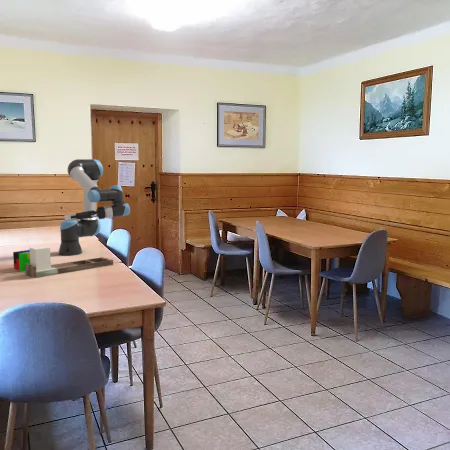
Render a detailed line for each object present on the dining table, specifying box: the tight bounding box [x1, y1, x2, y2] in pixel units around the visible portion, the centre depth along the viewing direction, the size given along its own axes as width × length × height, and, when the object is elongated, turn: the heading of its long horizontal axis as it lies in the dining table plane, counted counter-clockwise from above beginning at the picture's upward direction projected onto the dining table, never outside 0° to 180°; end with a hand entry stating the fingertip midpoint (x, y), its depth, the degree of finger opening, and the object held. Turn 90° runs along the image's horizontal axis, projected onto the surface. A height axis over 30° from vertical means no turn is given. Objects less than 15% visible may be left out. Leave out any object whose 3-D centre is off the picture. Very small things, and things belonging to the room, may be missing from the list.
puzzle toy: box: [12, 249, 30, 272], centre depth 267 cm, size 10×10×10 cm
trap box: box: [25, 256, 114, 279], centre depth 266 cm, size 12×48×6 cm, turn 135°
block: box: [29, 245, 52, 271], centre depth 253 cm, size 8×8×12 cm
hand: (64, 217), depth 272 cm, fingers closed
